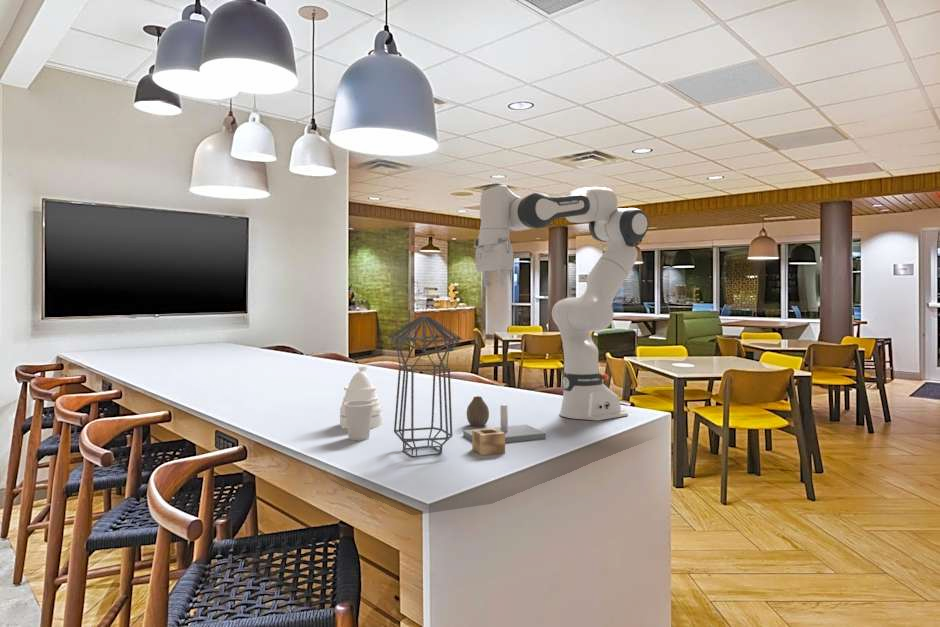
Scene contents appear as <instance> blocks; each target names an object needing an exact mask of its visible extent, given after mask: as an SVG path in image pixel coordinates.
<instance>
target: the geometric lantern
mask: <svg viewBox="0 0 940 627" xmlns="http://www.w3.org/2000/svg"><path fill="white" fill-rule="evenodd" d="M421 326H422V336H417V335H418V333H419V331H420V329H421ZM426 326H427V329H428V330H429V333H430V335H426V334H427V333H426V331H427V329H426ZM432 330H433V331H432ZM433 332H434V333H435V334H434V333H433ZM437 332H438V333H439V334H438V333H437ZM410 334H411V335H410ZM409 335H410V336H409ZM388 337H389V338H391V340H392V342H393V345H394V346H395V351H396V352H397V357H398V364H399V365H398V376H397V385H396V386H397V387H396V389H397V390H396V403H395V414H394V423H393V424H394V425H393V427H394V428H393V433H394V434H395V435H396V436H397V437H398V439H399V440H400V441H401V442H402V452H404V453H405V454H407V455H408V456H409V457H410V458H420V457H421V458H422V457H428V456H437V455H441V454H442V453H443V446H444V445H445V444H446V443H447V442H448V441H449V440H450V439H451V438H452V437H453V436H454V435H453V416H452V393H451V392H452V391H451V367H448V366H449V365H448V364H449V354H450V352H453V351H454V348H455V347H456V346H457V344H458V343H459V342H460V341H462V340H463V338H462V337H461V336H459V335H457V334H456V333H455V332H453V331H452V330H450V329H449V328H447V327H445V326H444V325H443V324H442V323H440V322H438V321H437V320H436V319H435V318H432V316H430V315H421V316H419V317H417V318H416V319H414V320H412V321H411V322H409V323H407V324H406V325H404V326H403V327H401V328H399V329H397V330H396V331H395V332H393V333H391V334H390V335H388ZM439 337H440V338H443V339H439ZM430 338H431V339H430ZM407 341H410V342H411V343H413V344H411V343H409V342H407ZM417 341H421V342H422V343H423V345H422V346H421V345H419V343H417ZM399 342H400V344H399ZM442 342H444V344H443V345H441V346H440V347H437V343H442ZM426 343H427V344H426ZM433 343H434V346H435V347H434V348H435V349H433V350H427V348H428V347H429V346H430V345H431V344H433ZM404 344H405V345H407V346H409V347H410V351H409V353H408V355H407V358H406V359H405V358H404V353H403V352H402V347H403V345H404ZM445 347H446V350H445V352H444V354H443V356H442V357H441V355H440V353H439V351H440V350H442V349H444V348H445ZM415 349H416V350H421V352H422V353H421V354H420V355H419V357H418V358H417V359H416V360H415V362H414V364H407V363H408V361H409V358H410V357H411V354H413V353H412V352H413V351H414V350H415ZM431 353H436V355H437V357H438V360H439V364H435V363H434V361H433V360H432V358H431V357H430V355H429V354H431ZM424 354H425V355H427V357H428V359H429V360H430V362H431V363H432V364H418V362H419V360H420V359H421V357H422V356H423V355H424ZM446 356H447V357H446ZM400 357H401V359H402V362H403V364H402V365H401V359H400ZM445 358H446V365H445V364H444V360H445ZM408 367H411V368H408ZM414 367H433V368H430V369H428V368H426V369H425V368H422V369H421V368H420V369H419V368H416V369H414ZM402 369H403V372H402ZM420 371H421V372H422V371H423V372H424V371H425V372H427V371H428V372H429V371H431V372H432V371H433V372H432V373H433V375H432V376H433V377H432V396H431V398H432V400H431V420H430V422H431V423H430V424H431V425H430V426H429V427H414V412H415V411H414V406H415V405H414V399H415V398H414V393H415V390H414V386H415V384H414V383H415V382H414V381H415V380H414V378H415V377H414V376H415V375H414V374H415V373H414V372H420ZM436 371H437V372H438V390H439V392H438V394H439V426H440V427H435V426H434V422H435V421H434V420H435V419H434V418H435V416H434V415H435V393H436V392H435V391H436V389H435V388H436ZM441 371H442V372H443V373H442V372H441ZM446 371H447V378H446ZM401 372H402V373H401ZM409 372H410V373H411V375H410V376H411V377H410V378H411V381H410V382H411V386H410V387H411V388H410V390H411V393H410V394H411V396H410V397H411V398H410V399H411V402H410V405H411V407H410V409H411V412H410V415H411V416H410V425H411V428H405V424H406V423H405V422H406V410H407V398H408V397H407V396H408V394H407V393H408V382H409V380H408V379H409ZM441 373H442V374H443V378H442V374H441ZM401 374H402V384H401V383H400V382H401ZM442 379H443V394H444V395H443V398H444V415H445V416H444V417H445V418H444V420H445V429H443V409H442V407H443V403H442ZM400 384H401V385H402V386H401V385H400ZM400 386H401V396H400ZM447 387H448V388H447ZM447 389H448V398H447ZM399 397H400V398H399ZM399 399H400V411H399V410H398V409H399ZM447 400H448V401H447ZM447 402H448V403H447ZM447 404H448V405H447ZM398 411H399V412H398ZM448 411H449V420H448ZM398 414H399V419H398ZM398 420H399V421H398ZM448 421H449V424H448ZM397 422H398V429H397ZM425 430H426V431H427V430H430V431H429V435H428V437H425V438H423V437H422V438H414V431H425ZM433 430H435V431H436V430H437V431H438V432H436V434H435V435H434V436H433V437H432V436H431V435H432V432H433ZM409 431H411V432H410V433H411V434H410V435H411V436H410V438H405V432H409ZM441 432H443V433H444V434H445V437H437V436H438V435H439V434H440V433H441ZM422 441H427V445H422V446H421V445H420V446H416V443H415V442H422ZM438 441H443V442H442V443H441V442H438ZM410 443H412V444H413V447H412V445H410ZM430 443H431V445H430ZM434 443H436V444H437V445H434ZM430 448H433V449H434V450H436V451H437V452H436V453H435V452H434V453H427V454H420V455H419V454H418V449H430ZM406 450H411V453H409V452H408V451H406ZM414 450H415V455H414Z"/></svg>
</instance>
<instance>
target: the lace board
mask: <svg viewBox="0 0 940 627" xmlns="http://www.w3.org/2000/svg"><path fill="white" fill-rule="evenodd" d="M508 408H509V406H508V404H500V410H499V411H500V426H495V427H494V426H493V428H496V429H498V430H500V431H502V432H504V433H505V444H506V443H515V442H525V441H534V440H544V439H546V438H547V434H546V433H547V432H545V431H543V430H541V429H540V430H539V429H538V428H535V427H532V426H530V425H528V424H526V423H525V424H517V425H516V424H514V425H509V424H508V420H509V419H508V414H509V413H508V411H509V410H508ZM489 428H490V427H487V428H483V429H489ZM479 429H480V428H477V429H464V430H463V433H462V434H463V436H464V437H465V438H467V439H468V440H470V441H471V442H472V430H479Z"/></svg>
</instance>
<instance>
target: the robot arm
mask: <svg viewBox="0 0 940 627" xmlns="http://www.w3.org/2000/svg"><path fill="white" fill-rule="evenodd" d="M508 187H509V186H507V185H506V184H494V185H489V186H487V187H485V188H484V189H483V190H482V192H481V194H480V202H479V218H480V227H479V234H478V237H477V238H476V239H475V240H474V248H475V269H476V271H477V272H478V273H482V278H483V283H484V284H483V286H484V287H485V288H488V287H492V282H493V281H492V280H491V272H492V273H493V272H497V274H498V276H497V277H498V278H497V279H496V286H497V287H504V286H505V280H506V277H507V273H508V272H507V271H510V270H511V271H512V270H513V269H514V265H515V263H514V249H513V245H512V244H511V241H510V230H511V231H514V232H520V231H525V230H531V229H541V228H545V227H547V226H548V225H549V224H551V223H552V222H553V221H556V219H563V218H565V219H566V220H567V221H568V222H569V223H573V224H574V223H576V224H577V223H579V224H582V223H588V230H589V233H590V235H591V237H592V238H593V239H594V240H596V241H599V242H603V243H605V242H607V247H606V249H605V251H604V252H603V254H602V255H601V256H600V258H599V259H598V260H597V261H596V263H595V265H594V266H593V267H592V269H591V270H590V272H588V275H587V276H586V279H585V281H586V282H585V283H586V288H585V291H584V293H583V294H582V295H581V296H579V297H574V296H573V297H572V296H571V297H566V298H563V299H560V300H557V302H556V303H554V306H552V310H551V318H552V320H553V323H555V325H556V326H557V328H558V331H559V334H560V337H561V341H562V347H563V358H564V360H563V362H564V364H563V365H564V371H563V373H562V387H563V393H562V394H563V396H562V402H561V407H560V410H559V416H560V417H564V418H568V419H573V420H574V419H575V420H588V421H602V420H607V419H608V420H609V419H615V418H620V417H627V416H629V414H628V411H627V410H626V409H625V410H624V409H622V408H621V407H622V406H621V400H620V397H619V396H618V394H617V393H615V392H614V391H612V390H611V389H610V388H609V387H607V385H605V384H604V382H603V381H609V379H610V375H608V374H606V373H603V374H601V373H600V372H599V349H598V347H597V345H596V344H595V343H594V341H593V339H592V336H591V333H593V332H599V331H602V330H605V329H606V330H607V328H609V327H610V326H611V324H612V322H613V319H614V310H613V309H614V308H613V306H612V305H613V302H614V298H615V297H616V295H617V293H618V291H619V290H620V288H621V287H622V285H623V284H624V282H625V281H626V279H627V278H628V276H629V275H630V273H631V271H632V270H633V268H634V266H635V263H636V261H637V259H638V250H637V247H636V246H638V245H640V244H641V243H642V241H643V239H644V238H645V237H646V234H647V231H648V228H649V218H648V216H647V214H646V212H645V211H644V210H642V209H639V208H635V207H628V208H626V207H625V208H621V207H620V208H619V207H618V198H617V195H616V193H615V191H613V190H612V189H611V188H607V187H599V186H592V187H591V186H587V187H580V188H576V189H574V190H570V191H568V192H566V193H565V194H564V195H563V196H550V195H548V194H544V193H542V192H534V193H531V194H528V195H526V196H522V197H521V196H518V195H517V194H515V193H514V192H512V191H511V190H510V189H509V188H508Z"/></svg>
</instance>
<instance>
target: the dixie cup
mask: <svg viewBox="0 0 940 627" xmlns="http://www.w3.org/2000/svg"><path fill="white" fill-rule="evenodd" d="M373 404H374V403H373V402H372V401H367V400H355V401H348V402H345V403H344V404H343V405H344V407H345V414H346V422H347V429H346V430H347V436H348V440H350V439H351V440H350V441H355V440H358V441H365V440H369V439H370V434H371V433H370V432H371V429H370V426H371V416H372V407H373Z"/></svg>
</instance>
